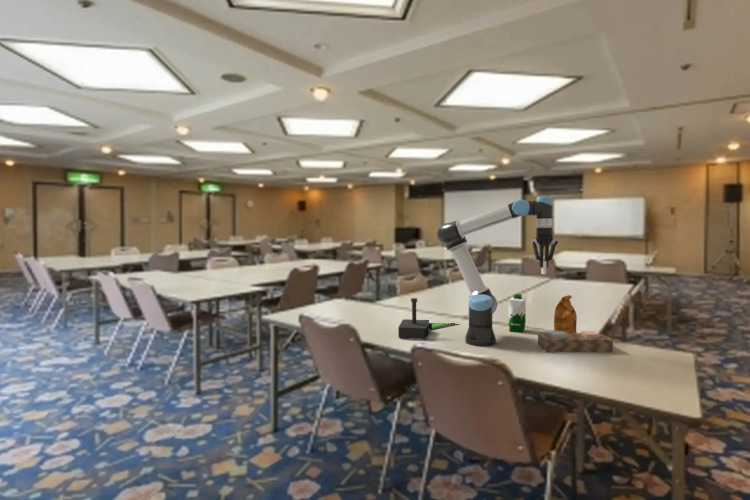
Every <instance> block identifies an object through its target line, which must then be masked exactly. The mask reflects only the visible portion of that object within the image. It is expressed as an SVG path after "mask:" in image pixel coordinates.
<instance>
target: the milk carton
mask: <svg viewBox="0 0 750 500" xmlns="http://www.w3.org/2000/svg"><path fill="white" fill-rule="evenodd" d="M526 301H527V300H526V298H523V296H522V294H521V293H520V294H519V293H517V294H514V295H513V297H510V298H509V300H508V329H509V332H511V333H519V334H520V333H523V332H524V331H525V329H526V321H527V319H526V317H527V313H526V312H527V308H526Z"/></svg>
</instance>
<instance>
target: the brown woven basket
mask: <svg viewBox="0 0 750 500" xmlns="http://www.w3.org/2000/svg"><path fill="white" fill-rule="evenodd" d="M597 333H598V334H600V338H585V337H583V336H582V335H581V332H576V333H566V334H567V338H553V337H551V336H550V335H549V332H538V333H537V346H538V345H539V347H540V348H541V349H542V350H543V351H545V353H613V352H614V350H613V349H614V339H612V338H611V337H609V336H607V335H605V334H603V333H601V332H597Z"/></svg>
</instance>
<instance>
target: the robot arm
mask: <svg viewBox="0 0 750 500" xmlns="http://www.w3.org/2000/svg"><path fill="white" fill-rule="evenodd" d="M553 202H554V201H553V197H552V196H550V195H547V196H546V195H543V196H537V197H536V200H525V199H517V200H515V201H512V202H509V203H508V204H505V205H501V206H499V207H497V208H494V209H491V210H488V211H485V212H482V213H479V214H476V215H474V216H470V217H468V218H465V219H463V220H454V221H450V222H444V223H442V224H441V225H440V226H439V227H438V228H437V231H436V237H437V239H438V241H439V242H440V244H442V245H444V246H445V248H446V251H448V252H451V255H452V256H453V258H454V261H455V263H456V264H457V265H456V266H457V267H458V269H459V271H460V273H461V276H462V278H463V279H464V283H465V284H466V286H467V289H468V291H469V296H468V298H469V299H468V302H467V303H468V328H467V332H466V334H465V336H464V337H465V338H464V339H465V340H464V341H465V343H466V344H469V345H471V346H475V347H476V346H478V347H490V346H494V345H495V344H497V338H496V334H495V331H494V328H493V315H494V314H495V312H496V311H497V308H498V301H497V299H496V296H494V295H493V293H492V292H491V291H492V290H491V289H490V287H487V286H485V283H484V281H483V279H482V276H481V275H480V273H479V271H478V268H477V266H476V264H475V261H474V259H473V258H472V255H471V253H470V251H469V249H468V247H467V245H468V240H467V237H466V235H470V234H473V233H476V232H478V231H481V230H484V229H487V228H490V227H492V226H496V225H499V224H502V223H504V222H506V221H507V222H508V221H510V220H513V219H517V218H520V217H526V216H527V217H528V216H529V217H530V216H531V217H532V216H536V221H535V222H536V229H535V231H536V233H535V234H536V236H535V239H534V240H531V241H530V244H531V245H532V249H533V252H534V253H533V254H534V258H535V259H536V260H537V261H539V268H541V272H540V273H541V274H542V275H547V269H548V267H549V261H552V260H553V258H554V255H555V250H556V247H557V245H558V243H559V242H558V240H555V239H554V237H553V228H552V227H553V218H554V217H553V214H554V212H553V211H554V208H553V207H554V203H553ZM537 244H538V246H537ZM550 244H551V245H550ZM538 248H539V249H538Z"/></svg>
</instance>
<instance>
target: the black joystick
mask: <svg viewBox="0 0 750 500" xmlns="http://www.w3.org/2000/svg"><path fill="white" fill-rule="evenodd" d="M410 302H411V319H407V318H406V319H405V318H404V319H402V320H401V322H400V323H399V325H398V328H397V330H398V338H399V339H408V338H414V339H413V340H426V339H427V338H428V337H429V335H430V331H433V330H432V323H429V320H426V319H417V303H418V298H417V297H411V298H410Z"/></svg>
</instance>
